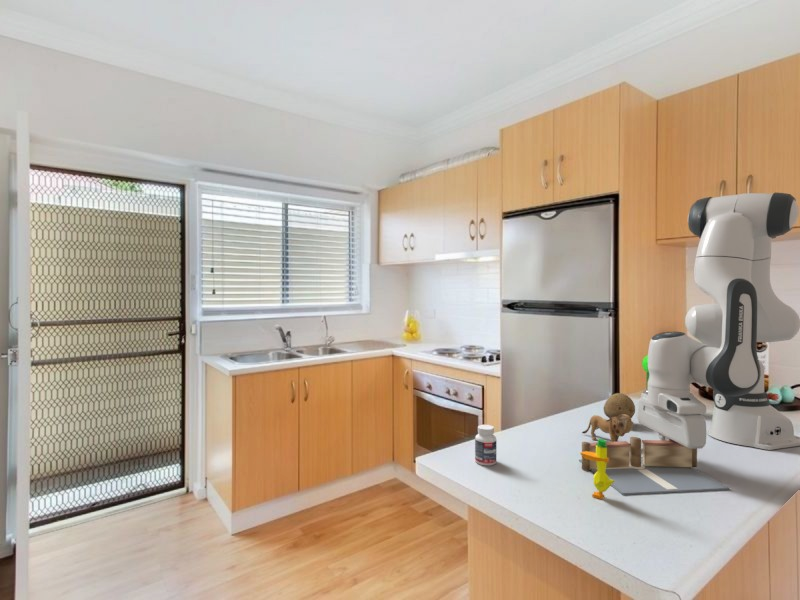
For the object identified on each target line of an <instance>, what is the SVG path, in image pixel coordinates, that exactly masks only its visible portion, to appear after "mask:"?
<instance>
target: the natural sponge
mask: <svg viewBox="0 0 800 600" xmlns="http://www.w3.org/2000/svg"><path fill="white" fill-rule="evenodd" d="M603 413H604V415H605V416H606V417H608V419H610V418H612V417H616V416H619V415H621V414H626V415H628V416H629V417H630V418H631V419H633V416H634V415H635V414H636V405H635V402H634V401H633V399H632V398H631V397H630V396H628V395H627V394H624V393H620V392H615V393H614V394H611V395H610V396H609V397H608V398H607V399H606V401H605V403H604V404H603Z"/></svg>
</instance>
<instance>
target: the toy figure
mask: <svg viewBox="0 0 800 600" xmlns="http://www.w3.org/2000/svg"><path fill="white" fill-rule="evenodd" d="M597 442H598V443H596V453H594V452H588V451H584V452H582V451H580V452H579V453H580V455H581V457H582V456H583V458H585V459H588V460H592V461H596V462H597V470H598V471H597V472H596V473H594V474H593V486H594V487H595V489H596V490H597V491H593V493H592V494H591V496H592V498H595V499H599V500H604V498H605V494H604V493H605V492H606V491H607V490H608V489H609V488H610V487H611V484H612V483H613V482H614V481H615V480H611V479H609V477H608V476H607V474H606V473H605V471H606V464H607V462H609V458H608V457H607V445H606V442H607V440H605V439H602V438H598V439H597Z"/></svg>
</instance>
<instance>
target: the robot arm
mask: <svg viewBox="0 0 800 600" xmlns="http://www.w3.org/2000/svg"><path fill="white" fill-rule="evenodd" d="M796 199H797V198H796V197H794V196H793V195H792V194H791V193H784V192H774V193H763V192H762V193H761V192H755V193H754V192H751V193H750V192H749V193H747V192H746V193H745V192H743V193H740V194H730V195H721V196H716V197H713V196H708V197H703V198H700V199H698V200H696V201H694V203H693V204H692V205H691V207H690V209H689V212H688V214H687V224H688V230H689V231H690V232H691V234H693V235H694V236H697V237H699V242H698V246H697V249H696V255H695V261H694V265H693V267H694V268H693V278H694V283H695V285H696V286H697V288H698V289H700V291H702V293H704V294H706V295H708V296H709V297H711V298H712V299H713V300H715V302H711V303H704V304H698V305H693V306H691V308H690V309H689V310H688V311H687V313H686V315H685V319H684V323H685V328H686V330H687V331H688V333H689V334H690V335H691V336H692V337H693V338H692V337H690V336H689V335H688V334H687V333H685V332H682V331H677V330H676V331H663V332H659V333H656V334H654V335H653V336H652V337H651V339H650V340H649V342H648V343H649V344H648V349H647V350H648V351H647V352H648V353H647V355H648V370H649V380H648V390H647V389H645V390H644V391H642V392H641V395H640V398H639V400H638V403H637V405H638V406H637V414H636V415H637V421H638V423H639V424H640V425H642V426H645V428H648V429H650V430H652V431H655V432H656V433H657V434H658V438H659V440H666V441H675V442H677V443H679V444H681V445H683V446H685V447H687V448H689V449H697V450H698V449H703V448H704V447H705V446H706V444H707V434H708V435H709V436H710V437H712V438H714V439H716V440H720V441H723V442H724V443H725V442H727V443H729V444H734V445H740V446H745V447H752V448H757V449H762V450H766V451H772V450H777V449H786V448H791V447H800V437H799V436H797V435H795V431H794V425H793V422H792V420H791V419H790V418H788V417H787V416H786V415H785V414H783V413H782V412H780V411H779V410H778V409H776V408H775V407H773V406H772V404H771V400H772V401H774V402H778V400H780V396H779V393H778V394H777V393H773V392H768V393H767V392H766V391H765V367H764V365H763V363H762V362H761V360H760V359H759V357H758V351H757V350H758V349H757V343H775V342H783V341H784V342H786V341H790V340H792V339H793V338H794V337H796V335H797V334H798V333H799V331H800V316H799V314H798V313H797V311H796V310H795V309H793V307H791V306H789V305H788V304H787V303H785V302H783V301H782V300H781V299H780V298H779V297H778V296H777V295H776V294H775V292H774V290H773V287H772V284H771V260H772V259H771V258H772V239H776V238H777V237H779V236H780V237H781V236H783V235H785V234H787V233H790V232H791V230H792V229H793V227H795V226H794V225H795V224H796V222H797V221H798V218H799V213H800V212H799V211H800V209H799V206H798V203H797V200H796ZM696 339H697V340H698V341H697V340H696ZM692 383H697V384H699V385H702V386H704V387H708V388H710V389H712V390H713V391H712V392H713V393H712V398H713V402H714V406H713V411H712V417H711V422H710V426H709V430H708V432H707V422H706V418H705V417H704V415H706V414H707V406H706V404H705V403H703V402H702V401H701V400H700V399H698V398H697V397H696V396H695V395H694V394H693V393H692V392H691V384H692Z"/></svg>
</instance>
